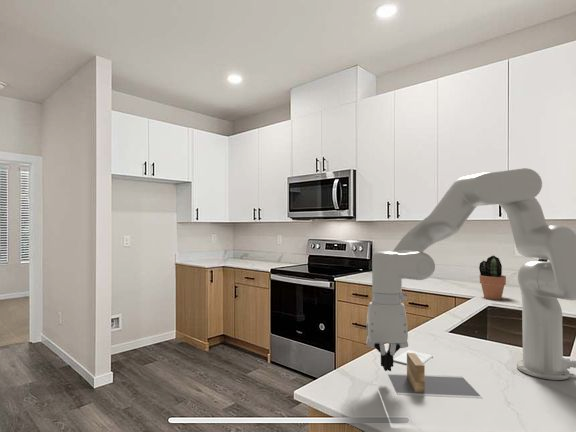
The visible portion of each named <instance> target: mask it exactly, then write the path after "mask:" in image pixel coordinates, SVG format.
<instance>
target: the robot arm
mask: <svg viewBox="0 0 576 432" xmlns="http://www.w3.org/2000/svg"><path fill="white" fill-rule="evenodd" d="M542 188H543V181H542V177H541V176H540V174H539V173H538V172H537V171H535V170H533V169H531V168H525V167H524V168H516V169H508V170H500V171H489V172H481V173H476V174H471V175H466V176H462V177H459V178H458V179H456V180H455V181H454V182H453V183H452V185H451V186H450V187H449V188H448V190H447V191H446V192H445V194H444V195H443V196H442V198H441V199H440V200H439V202H438V203H437V205H436V206H435V207H434V208H433V210H432V211H431V212H430V213H429V215H428V216H427V217H425V218H424V219H422V220H421V221H420V222H419V223H418V224H416V225H415V226H414V227H413V228H411V229H410V230H409V231H408V232H407V233H406V234H404V236H403V237H402V238H401V239H400V241H399V242H398V244H397V245H396V246H395V247H394V249H393V250H392V251H387V250H385V251H384V250H383V251H382V250H381V251H376V252H374V253H373V254H372V257H371V258H372V260H371V262H372V263H371V269H372V270H371V271H372V272H371V273H372V274H371V275H372V277H371V278H372V279H371V281H372V283H371V285H372V286H371V287H372V289H371V290H372V291H371V297H372V298H371V301H370V302H369V303H368V307H367V315H366V342H365V344H366V346H368V347H370V348H375V349H376V350H377V351H378V352H379V353H380V366H381V367H383V371H385V372H392V368H393V367H394V362H393V359H394V356H395V354H396V353H397V352H398V351H399V350H400V349H405V348H408V347H409V343H408V339H409V336H408V335H409V334H408V332H409V331H408V329H409V328H408V320H407V313H406V307H405V306H406V305H405V303H403V301H407V300H408V294H404V293H403V291H402V290H403V288H402V287H403V286H402V285H403V284H402V283H403V279H405V280H412V281H413V280H414V281H424V280H426V279H427V280H428V279H429V278H430V277H431V276H432V275H433V274H434V272H435V270H436V263H435V261H434V259H433V258H432V256H431V255H429V254H428V253H426V252H425V251H426V250H427V249H428V248H430V247H431V246H433V245H435V244H436V243H439V242H441V241H444V240H446V239H449V238H452V237H453V236H454V235H456V234H458V232H459V231H460V230H461V229H462V227H463V226H464V224H465V222H466V221H467V220H468V218H469V217H470V215H472V213H473V212H474V210H476V208H477V207H478V206H479V207H480V206H492V205H493V206H494V205H498V206H500V207H501V208H502V210H503V211H504V212H505V213H506V215H507V218H508V221H509V224H510V227H511V233H512V236H513V240H514V244H515V247H516V250H517V252H518V253H519V255H521V256H523V257H524V258H525V257H526V258H530V259H536V260H532V261H531V260H530V261H528V262H526V263H524V264H522V265H521V266H520V268H519V270H518V273H517V281H518V285H519V290H520V295H521V296H520V297H521V303H522V304H521V307H522V308H521V309H522V313H521V315H522V317H521V318H522V323H521V324H522V326H521V327H522V360H521V359H520V360H519V361H517V362H516V368H517V369H518V370H519V371H520V372H522V373H524V374H527V375H529V376H531V377H534V378H539V379H545V380H550V381H563V380H565V381H566V380H567V379H570V377H571V372H570V371H569V370H568V369H571V368H573V369H576V360H571V359H570V358H566V357H563V355H564V354H563V351H564V347H563V345H564V344H563V310H562V307H561V304H560V302H559V300H560V299H561V300H566V301H576V232H575V231H574V230H573V229H572V228H569V227H568V226H564V225H561V224H560V225H559V224H557V225H555V224H552V225H551V224H550V225H549V224H548V223H547V220H546V218H545V216H544V215H545V214H544V211H543V209H542V206H541V204H540V202H539V201H538V200H537V198H536V197H537V196H538V195H539V194H540V192H541V191H542ZM537 259H538V260H537ZM542 260H545V261H542ZM558 299H559V300H558ZM385 344H388V349H387V351H386V348H385V347H386V346H385Z"/></svg>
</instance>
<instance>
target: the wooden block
mask: <svg viewBox="0 0 576 432" xmlns="http://www.w3.org/2000/svg"><path fill="white" fill-rule="evenodd" d="M425 373H426V372H425V363H424V364H423V363H422V362H421V360H420V359H419V358H418V356H417V355H416V354H415V353H407V365H406V374H407V378H408V380H409V381H410V383H411V385H412V386H413V388H414V390H415V392H425V375H426V374H425Z"/></svg>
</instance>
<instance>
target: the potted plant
mask: <svg viewBox="0 0 576 432" xmlns="http://www.w3.org/2000/svg"><path fill="white" fill-rule="evenodd" d="M478 269H479V273H480V274H479V284H481V289H482V294H483V297H484V298H485V299H488V300H497V301H499V300H502V298H503V293H504V288H505V286H506V285H507V275H503V265H502V263H501V260H500V258H499V257H497V256H495V255H491V256H488V258H487V259H486V260H482V261H481V262H479V267H478Z"/></svg>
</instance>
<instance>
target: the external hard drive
mask: <svg viewBox="0 0 576 432" xmlns="http://www.w3.org/2000/svg"><path fill="white" fill-rule="evenodd" d="M407 353H415V354H416V355H417V356H418V358H419V359H420V360H421V362H422V363H423V364H424V365H425V364H426V363H427V362H428V361H429V360H431V359H434V355H433V354H428V353H424V352H420V351H416V350H412V349H407V350H405V351H404V352H402V353H401V354H399V355H398V356H397V357H395V358H393V363H397V364H401V365H405V366H407Z"/></svg>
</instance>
